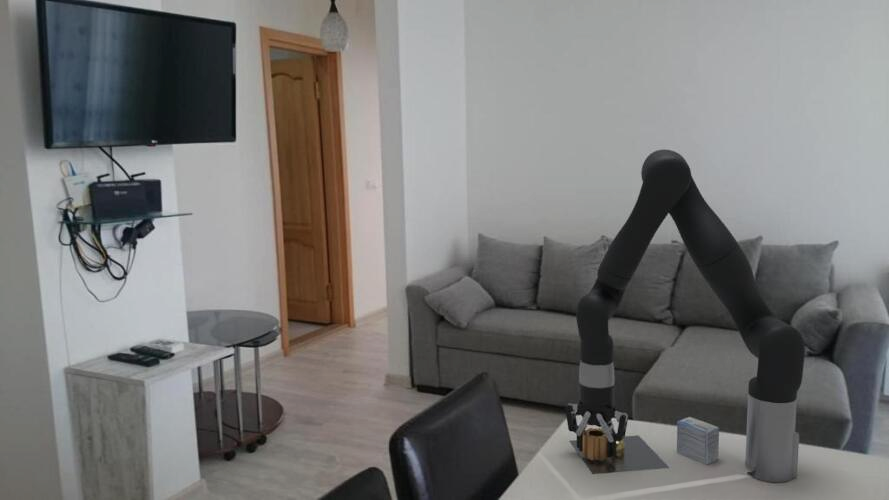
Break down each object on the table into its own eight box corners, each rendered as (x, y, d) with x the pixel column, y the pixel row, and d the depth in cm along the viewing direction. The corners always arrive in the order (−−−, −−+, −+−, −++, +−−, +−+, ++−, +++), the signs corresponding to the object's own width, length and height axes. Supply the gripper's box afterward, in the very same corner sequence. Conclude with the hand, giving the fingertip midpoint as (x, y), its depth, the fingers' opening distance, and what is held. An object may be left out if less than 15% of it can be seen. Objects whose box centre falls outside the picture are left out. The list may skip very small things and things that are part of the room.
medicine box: (718, 464, 154) (720, 427, 152) (706, 470, 151) (707, 432, 150) (688, 452, 160) (689, 415, 159) (675, 457, 158) (676, 420, 156)
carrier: (638, 440, 167) (638, 421, 166) (669, 472, 150) (669, 452, 150) (569, 445, 165) (569, 426, 164) (592, 479, 148) (592, 458, 148)
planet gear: (602, 447, 159) (602, 426, 158) (614, 458, 153) (614, 437, 153) (577, 450, 158) (577, 429, 157) (589, 462, 152) (589, 440, 151)
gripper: (559, 380, 153) (559, 453, 156) (623, 391, 146) (623, 467, 149) (571, 370, 160) (571, 440, 162) (634, 380, 152) (633, 453, 155)
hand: (596, 452), depth 155 cm, fingers closed on planet gear, 6 cm apart
